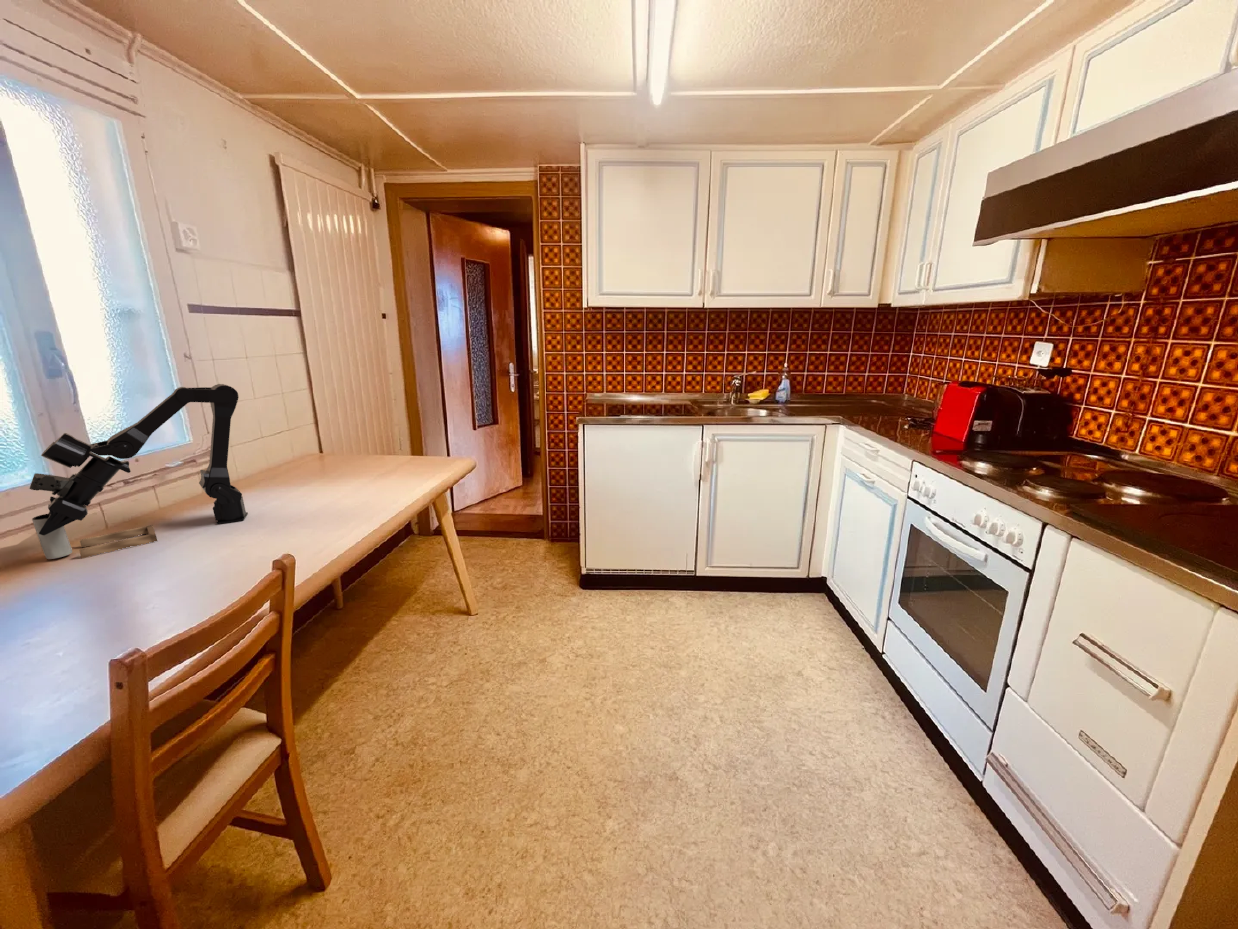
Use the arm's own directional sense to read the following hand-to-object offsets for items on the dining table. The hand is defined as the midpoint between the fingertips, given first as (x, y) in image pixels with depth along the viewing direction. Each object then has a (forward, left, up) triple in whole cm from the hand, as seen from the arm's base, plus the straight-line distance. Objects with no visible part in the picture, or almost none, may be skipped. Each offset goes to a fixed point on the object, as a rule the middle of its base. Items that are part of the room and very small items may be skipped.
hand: (41, 531), depth 121 cm
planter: (-1, 0, -7) cm, 7 cm away
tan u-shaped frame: (-11, -4, -7) cm, 14 cm away
